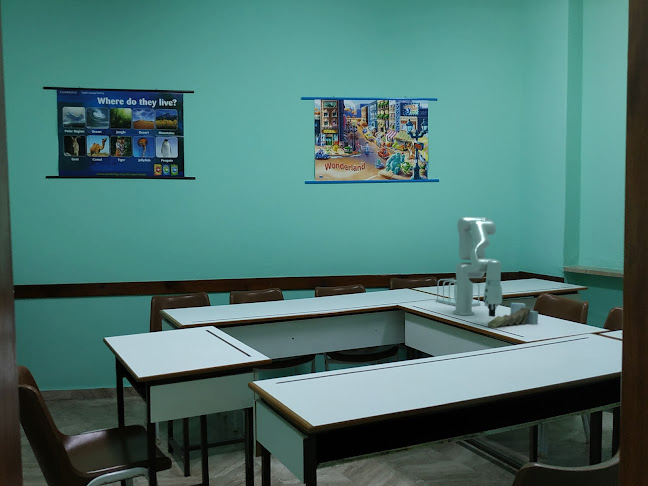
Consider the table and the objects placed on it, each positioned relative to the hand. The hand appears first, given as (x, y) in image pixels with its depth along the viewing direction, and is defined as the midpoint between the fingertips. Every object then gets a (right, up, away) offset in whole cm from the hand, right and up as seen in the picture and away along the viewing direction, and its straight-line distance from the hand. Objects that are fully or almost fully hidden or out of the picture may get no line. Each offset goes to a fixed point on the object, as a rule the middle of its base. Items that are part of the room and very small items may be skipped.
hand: (491, 316), depth 342 cm
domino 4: (+14, -5, +9) cm, 18 cm away
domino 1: (0, -5, 0) cm, 5 cm away
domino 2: (+5, -5, +3) cm, 8 cm away
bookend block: (+25, -6, +16) cm, 30 cm away
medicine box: (+24, -5, +31) cm, 40 cm away
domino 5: (+19, -5, +12) cm, 23 cm away
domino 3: (+10, -5, +6) cm, 13 cm away
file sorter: (-2, -1, +79) cm, 79 cm away
